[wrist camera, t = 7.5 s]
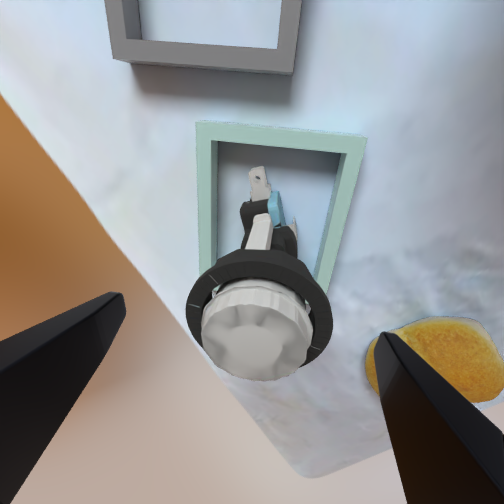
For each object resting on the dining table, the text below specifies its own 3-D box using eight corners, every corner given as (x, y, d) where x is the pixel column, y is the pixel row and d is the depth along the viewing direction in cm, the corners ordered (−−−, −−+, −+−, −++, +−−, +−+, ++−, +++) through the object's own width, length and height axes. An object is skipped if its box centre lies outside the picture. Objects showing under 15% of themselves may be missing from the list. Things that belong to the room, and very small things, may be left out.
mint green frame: (360, 134, 14) (367, 137, 13) (321, 292, 19) (323, 306, 18) (204, 120, 15) (195, 121, 14) (205, 276, 20) (200, 288, 19)
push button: (217, 174, 16) (131, 253, 8) (304, 154, 15) (320, 220, 6) (244, 266, 19) (204, 398, 11) (319, 255, 18) (344, 394, 9)
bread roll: (343, 343, 22) (353, 388, 18) (461, 293, 18) (500, 337, 15) (392, 399, 24) (409, 448, 21) (504, 364, 21) (547, 417, 17)
